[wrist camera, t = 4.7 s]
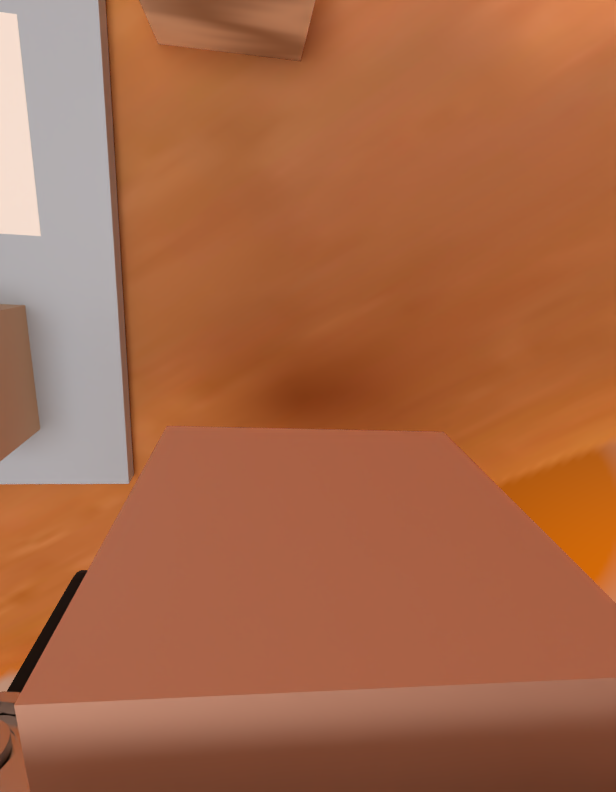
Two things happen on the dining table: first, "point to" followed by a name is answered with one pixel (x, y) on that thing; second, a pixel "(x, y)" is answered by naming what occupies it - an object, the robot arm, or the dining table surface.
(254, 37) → the birch block
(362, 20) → the dining table surface
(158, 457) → the terracotta block
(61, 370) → the board
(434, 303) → the dining table surface
